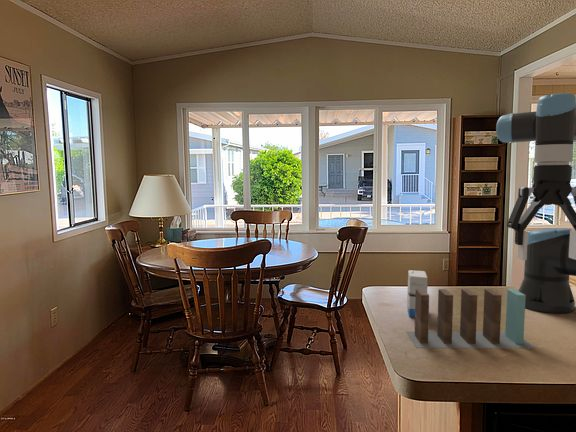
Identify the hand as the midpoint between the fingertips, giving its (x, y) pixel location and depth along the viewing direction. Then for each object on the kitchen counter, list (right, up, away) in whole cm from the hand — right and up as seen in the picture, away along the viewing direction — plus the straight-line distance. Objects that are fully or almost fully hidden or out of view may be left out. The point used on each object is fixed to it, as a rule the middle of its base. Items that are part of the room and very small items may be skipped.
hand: (547, 258), depth 103 cm
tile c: (-18, -20, +3) cm, 27 cm away
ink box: (-24, -18, +23) cm, 38 cm away
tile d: (-23, -20, +3) cm, 30 cm away
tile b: (-12, -19, +2) cm, 23 cm away
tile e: (-29, -20, +3) cm, 35 cm away
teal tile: (-7, -19, +2) cm, 21 cm away
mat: (-18, -20, +3) cm, 27 cm away
